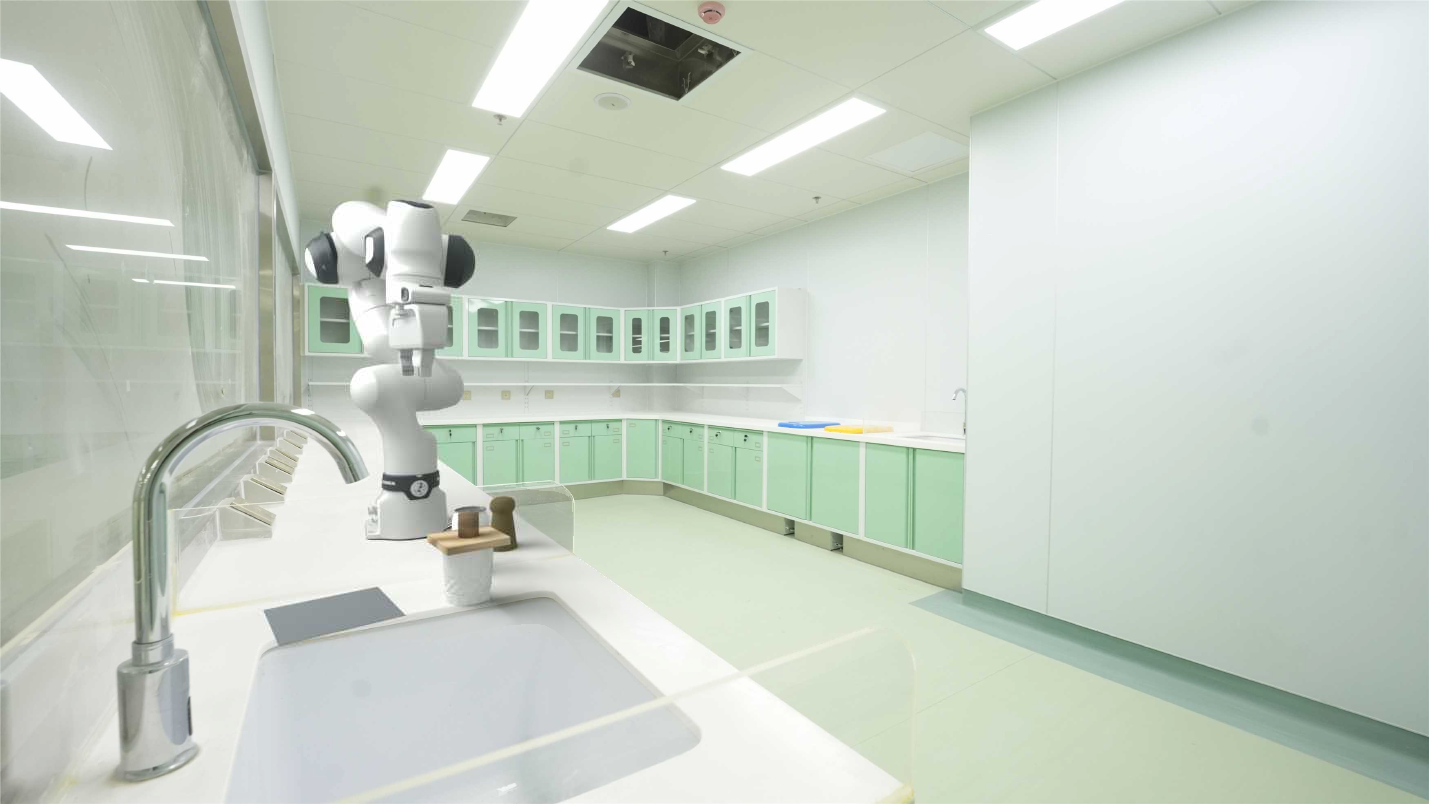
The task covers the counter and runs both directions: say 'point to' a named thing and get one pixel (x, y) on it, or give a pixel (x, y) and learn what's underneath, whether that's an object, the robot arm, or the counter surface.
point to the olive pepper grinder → (504, 520)
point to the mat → (330, 615)
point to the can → (479, 509)
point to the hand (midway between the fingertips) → (416, 376)
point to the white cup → (468, 577)
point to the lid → (468, 536)
